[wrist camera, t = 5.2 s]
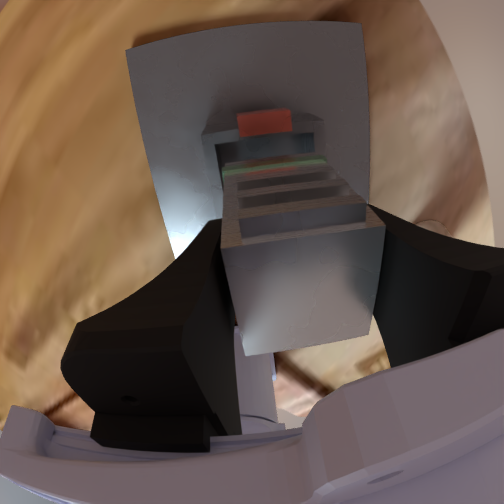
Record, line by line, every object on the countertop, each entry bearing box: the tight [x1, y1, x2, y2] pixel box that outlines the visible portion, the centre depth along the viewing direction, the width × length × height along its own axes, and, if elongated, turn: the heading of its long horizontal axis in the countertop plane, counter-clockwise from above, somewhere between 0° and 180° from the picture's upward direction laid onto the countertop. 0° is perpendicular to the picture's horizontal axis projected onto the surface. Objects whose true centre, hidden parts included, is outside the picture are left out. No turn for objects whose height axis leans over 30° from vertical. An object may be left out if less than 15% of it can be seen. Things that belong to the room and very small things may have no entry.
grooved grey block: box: [221, 152, 386, 356], centre depth 11 cm, size 5×4×7 cm
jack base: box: [125, 21, 370, 258], centre depth 17 cm, size 18×14×5 cm
